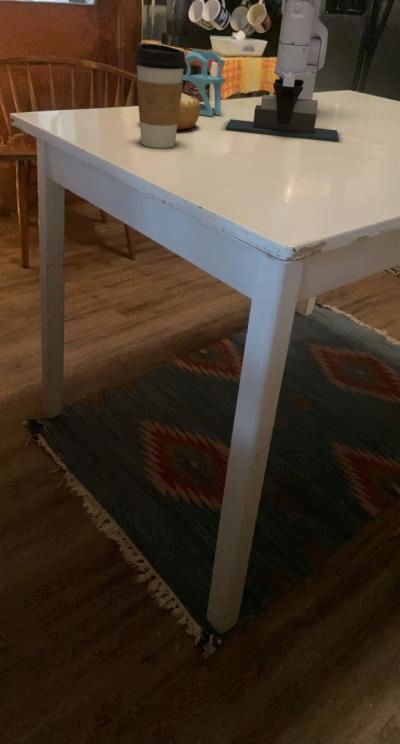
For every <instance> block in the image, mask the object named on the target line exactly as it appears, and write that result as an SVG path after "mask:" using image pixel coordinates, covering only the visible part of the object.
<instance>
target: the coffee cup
mask: <svg viewBox="0 0 400 744" xmlns="http://www.w3.org/2000/svg"><path fill="white" fill-rule="evenodd" d="M185 57H186V56H185V51H183V50H181V49H178V48H174V47H171V46H168V45H163V44H156V43H155V44H154V43H141V44H137V48H136V55H135V57H134V65H135V66H136V70H137V72H136V73H137V78H136V87H137V88H136V90H137V102H138V103H137V104H138V115H139V116H138V117H139V127H140V130H139V131H140V143H141V144H142V145H143V146H145V147H149V148H155V149H169V148H173V147H174V146H176V139H177V131H178V129H177V123H178V117H179V109H180V102H181V95H182V93H183V86H184V80H182V79H183V75H184V69H187V64H186V59H185Z"/></svg>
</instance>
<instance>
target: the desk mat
mask: <svg viewBox="0 0 400 744" xmlns="http://www.w3.org/2000/svg"><path fill="white" fill-rule="evenodd" d="M253 121H254V120H252V121H251V120H242V119H233V118H231V119H229V120H228V122H227V125H226V126H225V131H231V132H232V131H233V132H242V133H251V134H260V135H268V136H269V135H270V136H279V137H289V138H297V139H298V138H299V139H307V140H309V139H310V140H317V141H326V142H327V141H328V142H337V143H338V142H339V140H340V138H339V132H338V129H328V128H321V127H315V128H314V134H309V133H300V132H290V131H281V130H271V129H261V128H253Z"/></svg>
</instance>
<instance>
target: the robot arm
mask: <svg viewBox="0 0 400 744" xmlns="http://www.w3.org/2000/svg"><path fill="white" fill-rule="evenodd" d="M281 1H282V2H281V13H280V14H281V15H282V17H281V24H280V30H279V31H280V32H279V41H278V46H277V47H278V48H277V55H276V63H275V68H274V71H273V73H274V75H276V76H279V77H280V78H277V79H274V82H273V85H272V87H273V90H274V94H275V96H276V99H277V119H278V124H287V125H288V124H289V122H290V119H291V116H292V113H293V109H294V106H295V103H296V101H297V99H298V98H299V99H309V100H313V96H314V91H315V85H316V78H317V72H318V70H322V69H323V67H324V65H325V62H326V61H325V59H326V56H327V55H326V54H327V49H328V38H329V32H328V28H327V27H326V26H325V25H324V24H323V23H322V22H321V20H320V19H319V14H320V8H321V2H322V0H281ZM312 35H316V36H312ZM317 36H318V37H317ZM281 78H282V79H281Z"/></svg>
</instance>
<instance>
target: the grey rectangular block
mask: <svg viewBox="0 0 400 744" xmlns="http://www.w3.org/2000/svg"><path fill="white" fill-rule="evenodd" d="M318 105H319V101H318V99H312V100H309V99H299V98H298V99H297V101H296V103H295V106H294V109H293V113H292V116H291V119H290V122H289V124H288V125H287V124H278V119H277V99H276V95H267V94H263V95H262V97H261V104H256V105H255V107H254V113H253V120H252V121H253V128H261V129H271V130H281V131H290V132H300V133H309V134H314V128H316V122H317V115H318V114H317V112H318Z"/></svg>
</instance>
